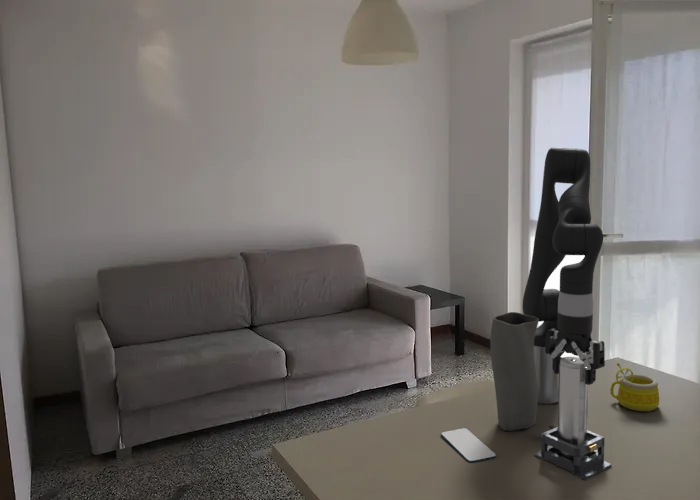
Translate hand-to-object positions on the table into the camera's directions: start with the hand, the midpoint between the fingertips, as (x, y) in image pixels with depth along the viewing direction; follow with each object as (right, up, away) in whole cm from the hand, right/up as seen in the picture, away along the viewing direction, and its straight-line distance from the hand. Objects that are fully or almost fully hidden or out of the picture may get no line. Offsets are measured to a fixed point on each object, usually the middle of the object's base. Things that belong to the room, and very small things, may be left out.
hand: (573, 378), depth 138 cm
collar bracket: (+1, -20, +3) cm, 21 cm away
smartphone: (-22, -20, +13) cm, 33 cm away
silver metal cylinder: (+1, -21, +3) cm, 21 cm away
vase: (-7, -18, +23) cm, 30 cm away
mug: (+30, -15, +33) cm, 47 cm away
